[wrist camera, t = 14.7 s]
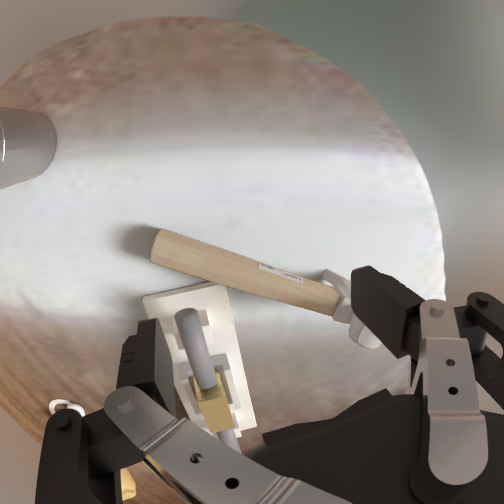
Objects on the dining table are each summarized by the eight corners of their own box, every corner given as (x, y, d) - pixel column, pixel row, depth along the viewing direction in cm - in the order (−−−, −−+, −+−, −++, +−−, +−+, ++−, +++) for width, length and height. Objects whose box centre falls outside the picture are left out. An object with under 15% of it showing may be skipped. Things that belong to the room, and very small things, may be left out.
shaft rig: (199, 434, 55) (204, 466, 48) (143, 296, 42) (138, 329, 35) (255, 421, 57) (266, 452, 50) (223, 278, 45) (235, 308, 37)
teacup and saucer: (80, 397, 46) (76, 412, 43) (95, 423, 49) (92, 438, 46) (43, 397, 45) (38, 411, 41) (59, 422, 48) (56, 437, 44)
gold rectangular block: (205, 406, 48) (210, 433, 42) (193, 375, 44) (197, 402, 39) (228, 401, 48) (235, 427, 43) (218, 369, 45) (225, 396, 40)
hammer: (132, 283, 31) (378, 354, 35) (141, 243, 30) (396, 322, 34) (166, 245, 47) (343, 301, 50) (174, 216, 45) (355, 276, 49)
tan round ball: (107, 477, 56) (106, 511, 46) (75, 455, 51) (71, 491, 42) (141, 470, 57) (143, 506, 47) (110, 447, 52) (108, 486, 42)
